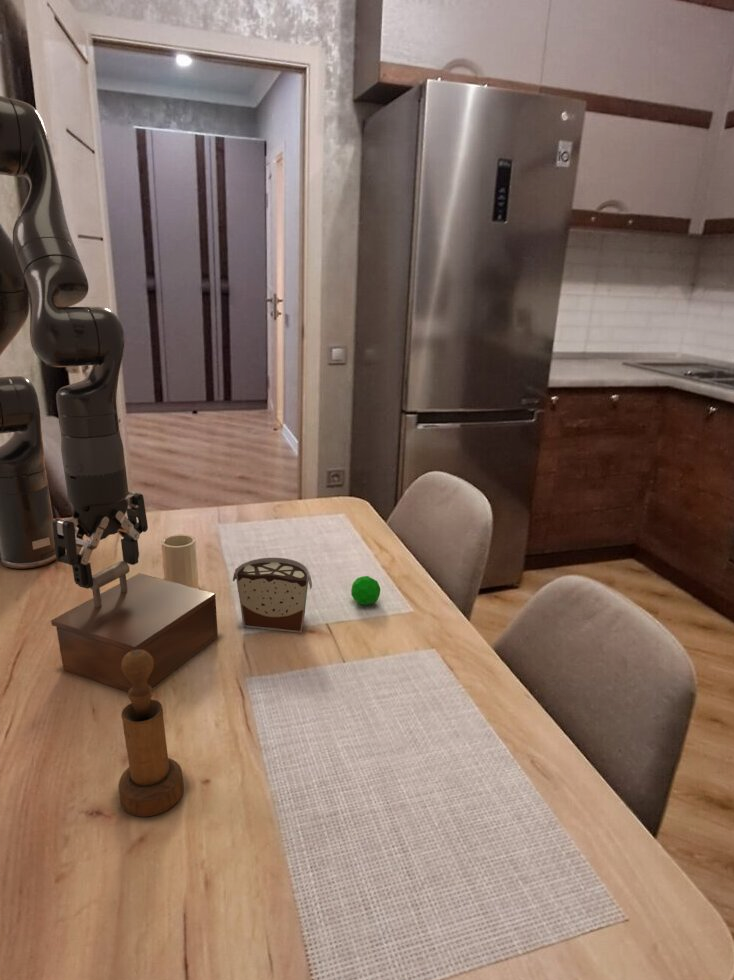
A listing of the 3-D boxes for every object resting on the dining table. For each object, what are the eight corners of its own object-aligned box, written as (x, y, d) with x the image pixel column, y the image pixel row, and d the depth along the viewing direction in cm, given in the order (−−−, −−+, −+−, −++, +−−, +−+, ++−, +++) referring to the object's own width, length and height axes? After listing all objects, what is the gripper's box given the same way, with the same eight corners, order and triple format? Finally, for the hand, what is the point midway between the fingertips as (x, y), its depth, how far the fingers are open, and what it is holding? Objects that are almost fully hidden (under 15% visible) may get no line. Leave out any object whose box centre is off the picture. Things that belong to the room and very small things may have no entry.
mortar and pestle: (112, 787, 73) (92, 646, 66) (171, 764, 77) (157, 628, 70) (131, 826, 68) (111, 679, 61) (193, 800, 72) (180, 658, 65)
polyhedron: (356, 611, 112) (357, 586, 110) (346, 598, 116) (347, 573, 114) (384, 607, 114) (385, 582, 112) (373, 594, 118) (374, 570, 116)
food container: (319, 614, 110) (319, 559, 107) (311, 633, 105) (311, 576, 101) (246, 607, 111) (244, 552, 107) (234, 626, 106) (231, 569, 102)
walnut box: (63, 669, 93) (56, 627, 90) (147, 616, 107) (143, 578, 104) (140, 696, 88) (135, 652, 85) (218, 637, 102) (215, 598, 100)
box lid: (51, 625, 90) (45, 588, 88) (139, 577, 104) (136, 544, 102) (135, 652, 85) (131, 614, 83) (215, 598, 100) (213, 564, 98)
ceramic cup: (159, 597, 113) (154, 543, 109) (180, 584, 118) (176, 532, 114) (185, 604, 111) (180, 549, 107) (205, 591, 116) (202, 538, 112)
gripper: (113, 448, 96) (125, 551, 102) (27, 474, 84) (47, 589, 90) (154, 456, 93) (164, 561, 100) (73, 483, 81) (90, 601, 87)
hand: (109, 574), depth 95 cm, fingers open, 8 cm apart
